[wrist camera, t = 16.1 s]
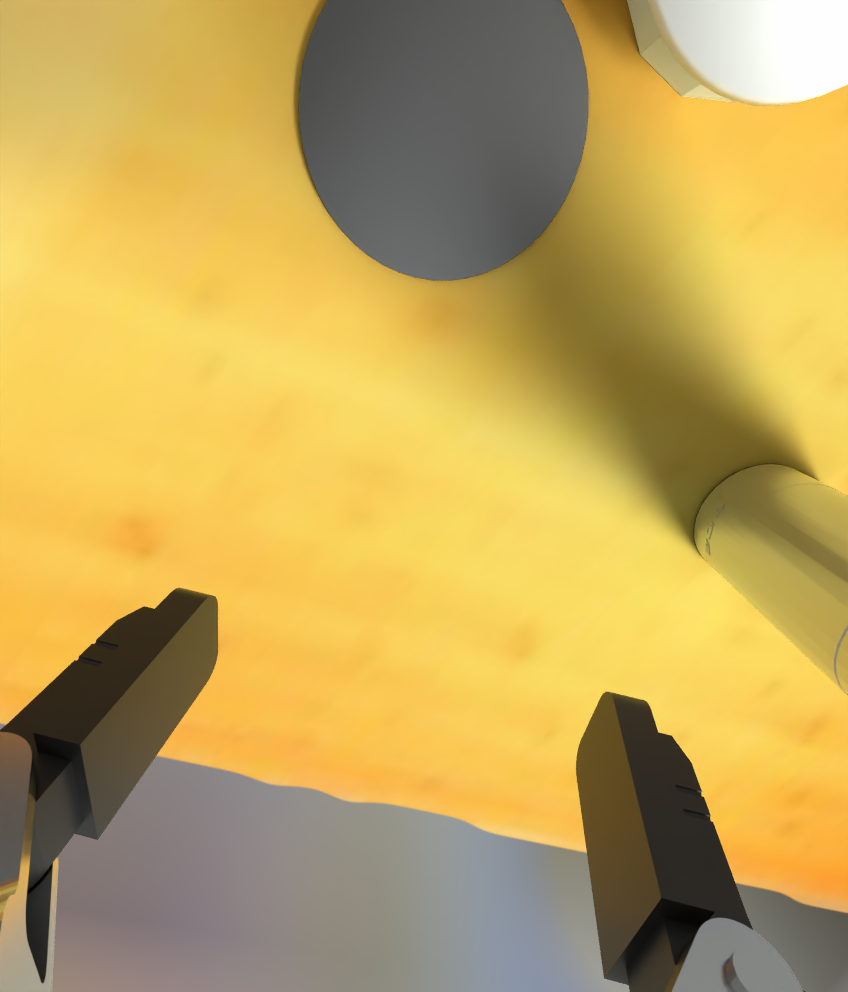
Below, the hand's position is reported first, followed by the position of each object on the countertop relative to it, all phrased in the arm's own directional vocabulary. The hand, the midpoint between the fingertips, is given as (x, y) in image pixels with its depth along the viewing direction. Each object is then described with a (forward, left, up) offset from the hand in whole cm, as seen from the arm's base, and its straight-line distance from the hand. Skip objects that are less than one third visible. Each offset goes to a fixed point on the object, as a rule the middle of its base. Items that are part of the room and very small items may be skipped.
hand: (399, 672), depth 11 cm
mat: (-1, -15, -26) cm, 31 cm away
